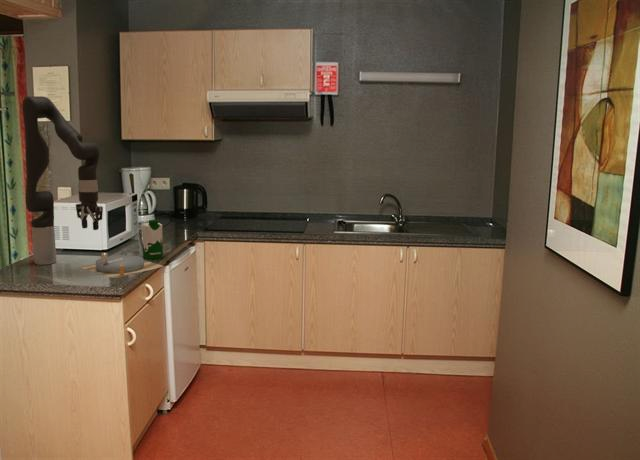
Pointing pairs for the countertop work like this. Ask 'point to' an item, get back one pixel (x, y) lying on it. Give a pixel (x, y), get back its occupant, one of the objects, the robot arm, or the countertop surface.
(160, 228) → the milk carton
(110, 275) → the birch board
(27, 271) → the countertop surface
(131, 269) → the cam dial
